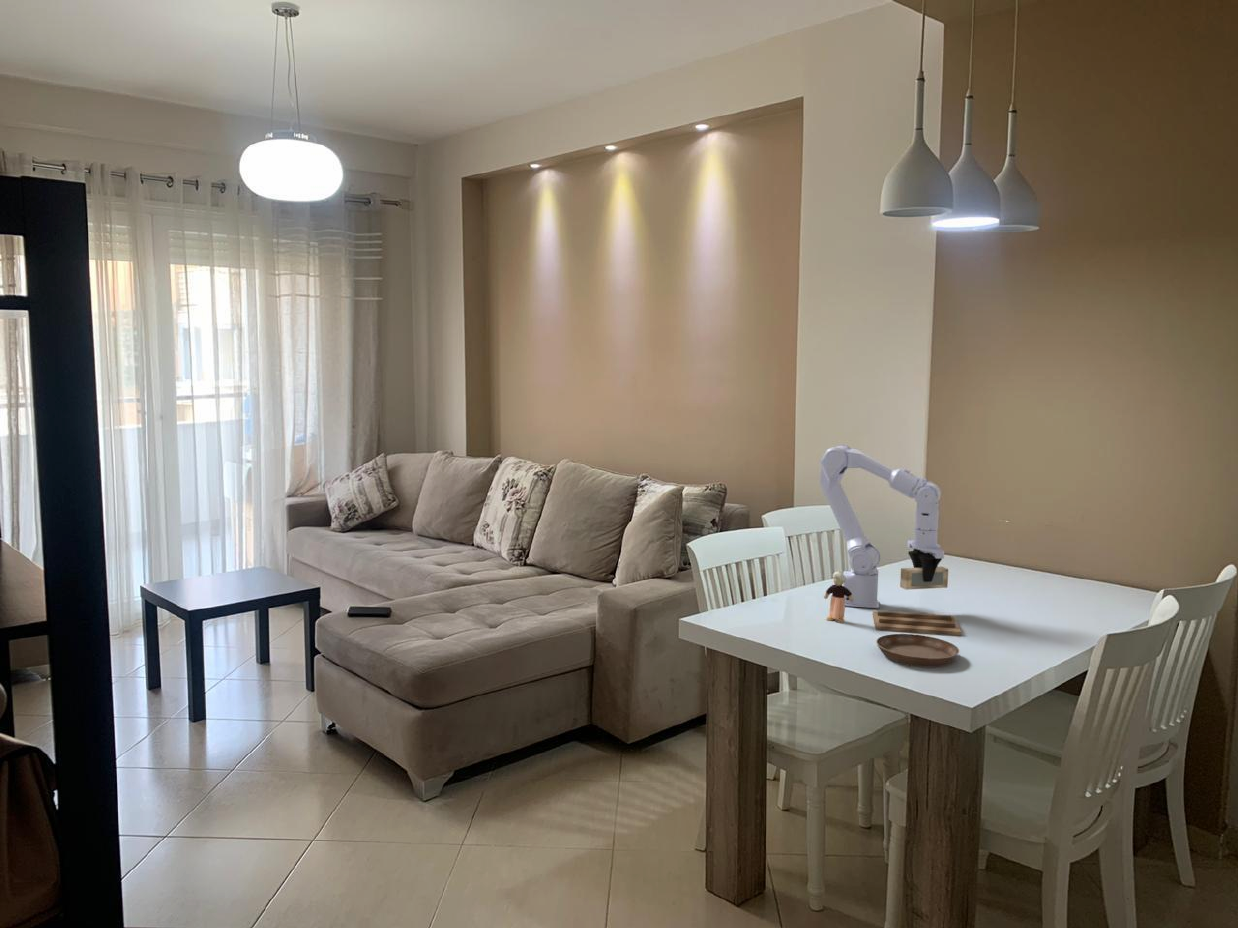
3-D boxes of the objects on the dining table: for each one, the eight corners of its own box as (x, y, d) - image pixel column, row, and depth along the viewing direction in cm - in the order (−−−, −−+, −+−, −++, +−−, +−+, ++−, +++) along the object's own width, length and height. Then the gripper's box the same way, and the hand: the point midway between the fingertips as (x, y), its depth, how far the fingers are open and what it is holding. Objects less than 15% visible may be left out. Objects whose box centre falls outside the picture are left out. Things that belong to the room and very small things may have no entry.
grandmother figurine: (821, 620, 232) (822, 572, 230) (823, 616, 235) (825, 568, 234) (852, 624, 229) (854, 574, 227) (854, 620, 232) (856, 571, 231)
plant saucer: (940, 645, 213) (941, 632, 213) (971, 671, 196) (972, 657, 195) (865, 645, 213) (866, 632, 212) (890, 671, 195) (890, 657, 195)
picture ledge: (875, 629, 224) (875, 621, 224) (872, 614, 238) (872, 607, 238) (961, 635, 220) (961, 627, 220) (953, 620, 233) (953, 612, 233)
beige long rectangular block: (906, 589, 237) (907, 570, 237) (900, 586, 240) (900, 568, 240) (947, 587, 240) (948, 569, 239) (941, 584, 243) (941, 566, 242)
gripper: (955, 533, 232) (953, 585, 234) (925, 523, 246) (922, 572, 248) (930, 534, 231) (928, 586, 232) (901, 524, 245) (899, 573, 246)
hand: (923, 579), depth 240 cm, fingers closed on beige long rectangular block, 3 cm apart
